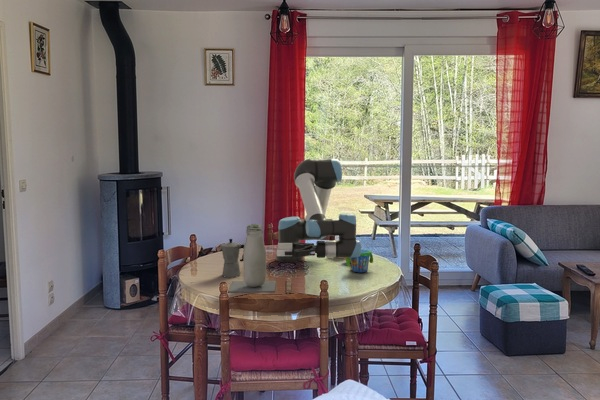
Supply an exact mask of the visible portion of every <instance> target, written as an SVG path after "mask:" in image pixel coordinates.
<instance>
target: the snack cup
mask: <svg viewBox="0 0 600 400" xmlns="http://www.w3.org/2000/svg"><path fill="white" fill-rule="evenodd" d="M373 263H374V257H373V253H372V250H369V249H361V255H360V256H359V257H352V258H351V263H350V258H347V260H345V264H346V266H347V267H351V270H352V271H353V272H354V273H365V272H368V270H369V264H373Z"/></svg>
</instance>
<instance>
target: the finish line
mask: <svg viewBox="0 0 600 400" xmlns="http://www.w3.org/2000/svg"><path fill="white" fill-rule="evenodd" d="M285 288H286V291H285V293H291V294H292V279H291V278H290V279H286V287H285Z"/></svg>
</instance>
